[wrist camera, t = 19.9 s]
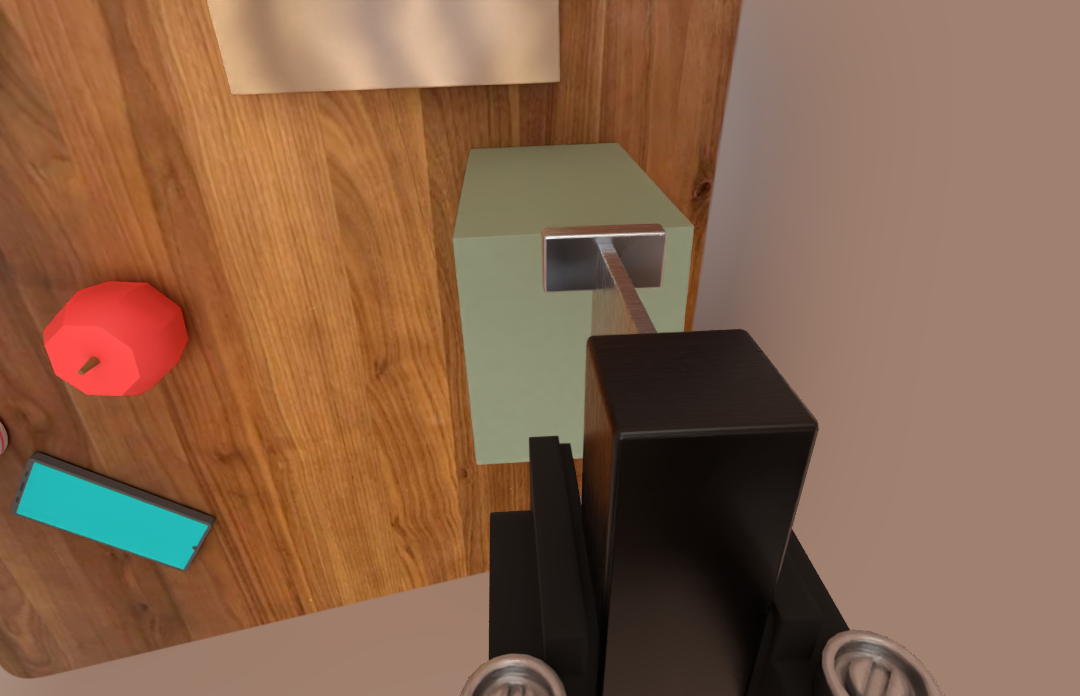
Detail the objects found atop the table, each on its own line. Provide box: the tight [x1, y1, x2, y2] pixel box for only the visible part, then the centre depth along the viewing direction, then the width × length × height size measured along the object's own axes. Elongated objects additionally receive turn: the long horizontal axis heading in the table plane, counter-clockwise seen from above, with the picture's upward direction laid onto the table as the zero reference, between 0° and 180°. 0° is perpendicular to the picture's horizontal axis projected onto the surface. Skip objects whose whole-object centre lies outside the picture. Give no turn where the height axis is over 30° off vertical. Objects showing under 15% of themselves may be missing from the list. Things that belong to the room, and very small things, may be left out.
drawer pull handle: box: [541, 224, 819, 696], centre depth 11 cm, size 2×9×7 cm, turn 1°
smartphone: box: [10, 453, 215, 571], centre depth 53 cm, size 7×1×15 cm
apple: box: [43, 281, 188, 396], centre depth 41 cm, size 8×8×8 cm
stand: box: [452, 143, 694, 465], centre depth 35 cm, size 10×12×18 cm
